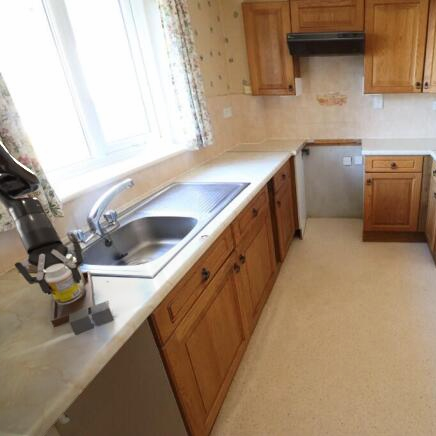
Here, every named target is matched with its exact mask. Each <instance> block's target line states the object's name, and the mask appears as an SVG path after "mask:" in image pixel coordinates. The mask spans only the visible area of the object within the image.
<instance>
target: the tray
mask: <svg viewBox="0 0 436 436" xmlns="http://www.w3.org/2000/svg"><path fill="white" fill-rule="evenodd" d="M82 274H83V276H84V279H85V281H86V282H85V284H84V287H85V289H86V294H85V295H84V296H83V297H81V298H79V299H77V300H76V301H74V302H72V303H69V304H64V305H61V304H58V303H57V302H56V300H55V298H54V296H53V295H52V302H51V304H52V305H51V315H50V316H51V317H50V322H51V324H52V326H53V327H54V328H55V327H58V326H59V327H60V326H61V325H64V324H67V323H69V314H72V313H75V312H78V311H80V310H83V309H86V308H88V309H89V312H90V314H91V307H92V306H95V305H96V303H95V292H94V284H93V276H92V274H91V271H90V270H87V271H84V272H82Z"/></svg>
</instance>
